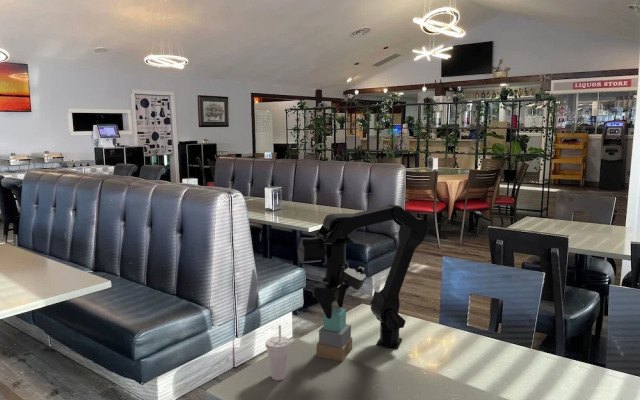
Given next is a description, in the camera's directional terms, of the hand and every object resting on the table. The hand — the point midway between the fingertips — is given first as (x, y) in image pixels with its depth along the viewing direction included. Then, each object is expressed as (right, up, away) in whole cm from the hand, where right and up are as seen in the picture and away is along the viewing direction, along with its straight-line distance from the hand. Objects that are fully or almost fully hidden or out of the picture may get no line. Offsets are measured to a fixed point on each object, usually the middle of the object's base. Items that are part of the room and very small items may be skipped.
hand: (335, 312), depth 132 cm
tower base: (0, -12, +2) cm, 13 cm away
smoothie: (-15, -14, -11) cm, 24 cm away
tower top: (0, -8, +1) cm, 9 cm away
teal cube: (0, -4, +1) cm, 5 cm away
